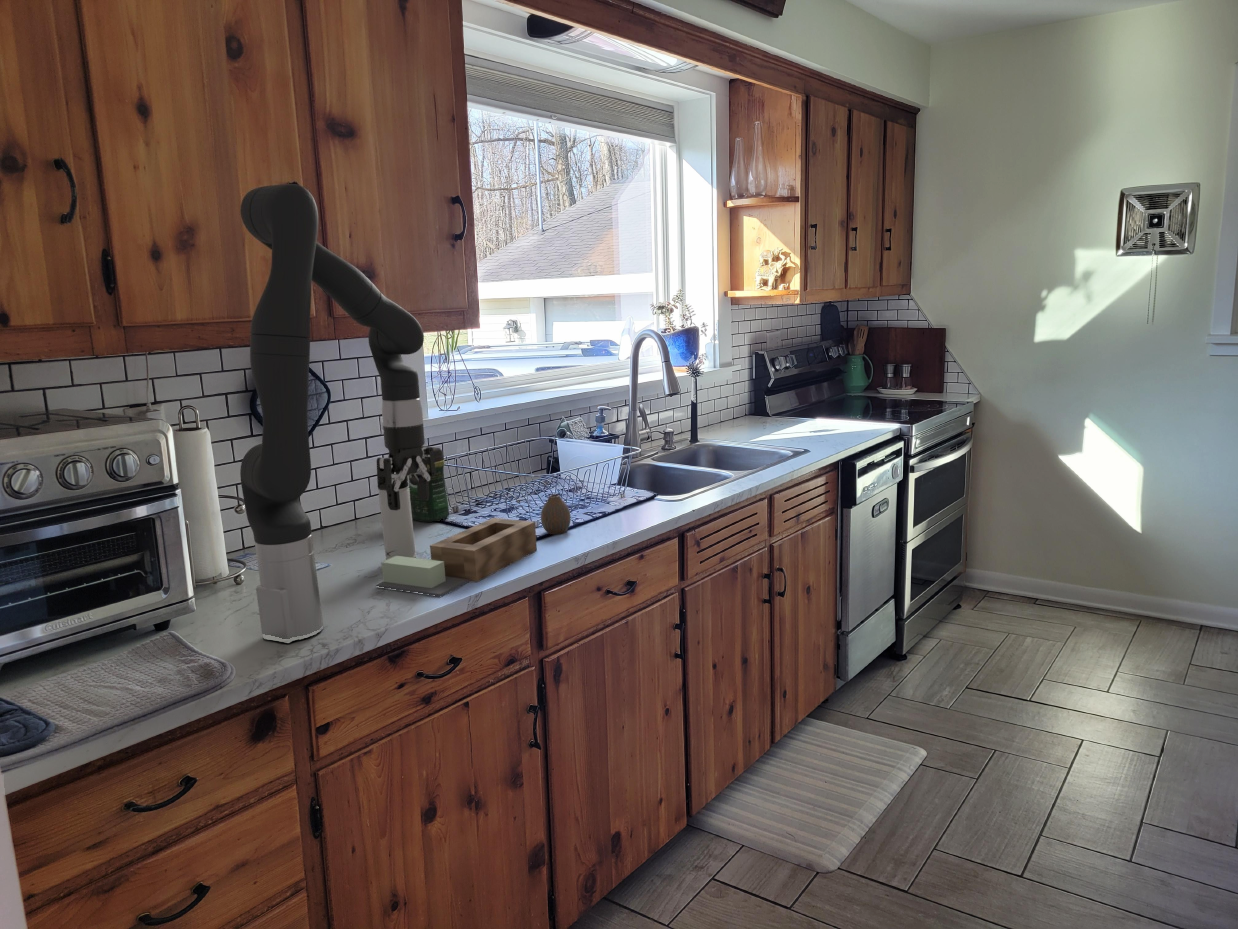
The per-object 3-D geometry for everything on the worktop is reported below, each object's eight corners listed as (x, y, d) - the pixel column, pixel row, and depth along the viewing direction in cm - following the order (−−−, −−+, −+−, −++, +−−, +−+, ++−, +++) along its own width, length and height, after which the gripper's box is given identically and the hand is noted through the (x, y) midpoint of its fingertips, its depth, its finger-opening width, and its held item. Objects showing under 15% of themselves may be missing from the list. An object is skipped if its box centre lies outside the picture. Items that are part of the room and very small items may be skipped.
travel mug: (386, 569, 193) (376, 476, 188) (386, 560, 199) (376, 470, 195) (417, 565, 194) (407, 473, 190) (415, 556, 200) (406, 467, 196)
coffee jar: (455, 517, 232) (448, 445, 229) (430, 524, 226) (423, 450, 223) (430, 512, 238) (423, 442, 235) (405, 519, 232) (398, 447, 229)
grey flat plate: (440, 597, 174) (440, 594, 174) (376, 587, 181) (375, 584, 181) (469, 582, 182) (469, 579, 181) (406, 573, 189) (406, 570, 189)
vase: (536, 534, 213) (533, 498, 211) (551, 527, 219) (549, 491, 217) (561, 537, 209) (559, 500, 208) (576, 529, 215) (574, 493, 214)
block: (445, 580, 181) (443, 561, 180) (431, 588, 177) (429, 568, 177) (398, 574, 187) (396, 555, 186) (383, 581, 183) (381, 562, 182)
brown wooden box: (476, 582, 181) (474, 550, 180) (432, 576, 186) (429, 545, 185) (537, 550, 200) (534, 521, 199) (495, 545, 205) (493, 517, 204)
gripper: (393, 428, 168) (400, 515, 171) (442, 417, 180) (447, 498, 183) (362, 427, 171) (369, 511, 174) (411, 416, 183) (418, 495, 186)
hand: (409, 504), depth 179 cm, fingers open, 8 cm apart
